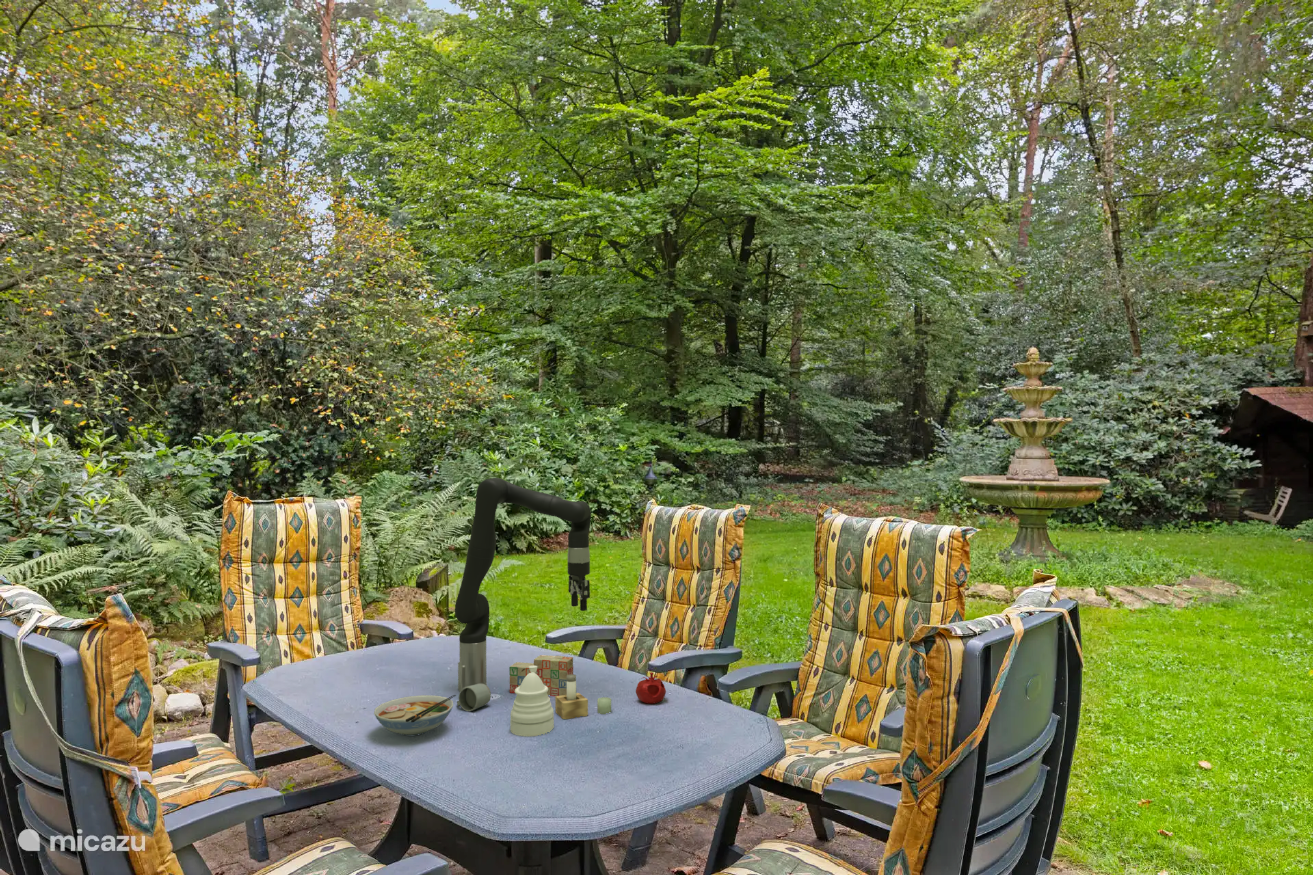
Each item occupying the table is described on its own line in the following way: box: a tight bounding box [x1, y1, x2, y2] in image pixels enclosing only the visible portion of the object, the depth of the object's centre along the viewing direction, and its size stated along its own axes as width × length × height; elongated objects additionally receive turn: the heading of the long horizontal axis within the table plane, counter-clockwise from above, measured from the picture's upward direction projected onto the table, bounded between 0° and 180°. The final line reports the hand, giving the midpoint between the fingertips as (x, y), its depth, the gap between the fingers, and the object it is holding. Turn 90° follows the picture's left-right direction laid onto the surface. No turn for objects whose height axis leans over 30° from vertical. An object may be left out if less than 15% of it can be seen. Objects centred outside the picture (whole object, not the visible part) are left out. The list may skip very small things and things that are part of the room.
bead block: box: [554, 692, 589, 720], centre depth 245 cm, size 8×8×5 cm
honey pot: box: [509, 666, 555, 737], centre depth 232 cm, size 13×13×18 cm
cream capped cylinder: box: [567, 673, 577, 701], centre depth 245 cm, size 3×3×12 cm
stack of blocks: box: [508, 654, 574, 697], centre depth 268 cm, size 21×6×12 cm, turn 76°
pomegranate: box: [635, 672, 667, 705], centre depth 257 cm, size 10×10×9 cm
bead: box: [596, 696, 612, 715], centre depth 247 cm, size 4×4×4 cm
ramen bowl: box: [373, 694, 457, 736], centre depth 231 cm, size 25×23×8 cm
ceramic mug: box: [456, 684, 492, 712], centre depth 253 cm, size 11×8×8 cm
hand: (579, 608), depth 262 cm, fingers open, 8 cm apart
